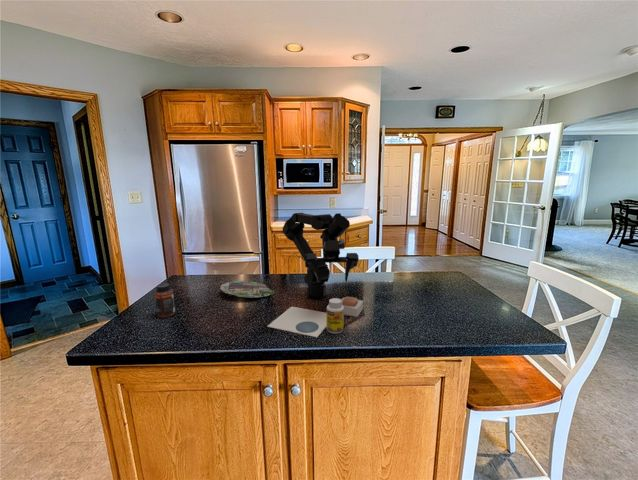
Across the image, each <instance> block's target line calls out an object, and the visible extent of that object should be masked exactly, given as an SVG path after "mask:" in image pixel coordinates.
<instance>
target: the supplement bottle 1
mask: <svg viewBox="0 0 638 480" xmlns="http://www.w3.org/2000/svg"><path fill="white" fill-rule="evenodd" d="M154 302H155V303H154V304H155V310H156V316H157V317H158V318H161V319H163V318H169V317H172V316H173V315H175V314H176V307H175V306H176V305H175V296H174V291H173V289H172V288H170V284H169V283H159V284H157V285H156V291H155V292H154Z"/></svg>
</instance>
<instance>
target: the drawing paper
mask: <svg viewBox="0 0 638 480" xmlns="http://www.w3.org/2000/svg"><path fill="white" fill-rule="evenodd" d="M326 322H327V312H324V311H319V310H313V309H307V308H303V307H298V306H297V307H296V306H290V307H289V308H288V309H287V310H285V311H284V312H283V313H282V314H281V315H279V316H278V317H276V318H275V319H274V320H272V322H270V323H269V324H268V325H267V328H271V329H272V328H273V329H277V330H280V331H281V330H282V331H285V332H290V333H295V334H298V335H304V336H309V337H312V338H318V337H319V336H320V335H321V333H322V332H324V330H325V329H327V328H326Z"/></svg>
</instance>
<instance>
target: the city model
mask: <svg viewBox="0 0 638 480" xmlns="http://www.w3.org/2000/svg"><path fill="white" fill-rule="evenodd" d="M219 288H220V290H221V291H222V293H225V294H227V295H228V297H230V296H235V297H238V298H239V297H240V298H241V297H242V298H251V299H253V298H263V297H268V296H270V295H274V294H275V290H274V289H270V288H269V287H268V286H267V285H266V284H264V283H260V281H259V280H257V281H243V280H235V281H229V282H225V283H223V284H221V285H220V287H219Z"/></svg>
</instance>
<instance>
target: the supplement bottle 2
mask: <svg viewBox="0 0 638 480" xmlns="http://www.w3.org/2000/svg"><path fill="white" fill-rule="evenodd" d="M341 299H342V298H338V297H337V298H336V297H335V298H334V297H333V298H330V299H329V301H328V305H327V306H326V313H327V322H326V328H325V329H326V331H327V332H328V333H330V334H334V335H336V334H341V333H343V331H344V325H345V315H344V307H343V305H342V301H341Z"/></svg>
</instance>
